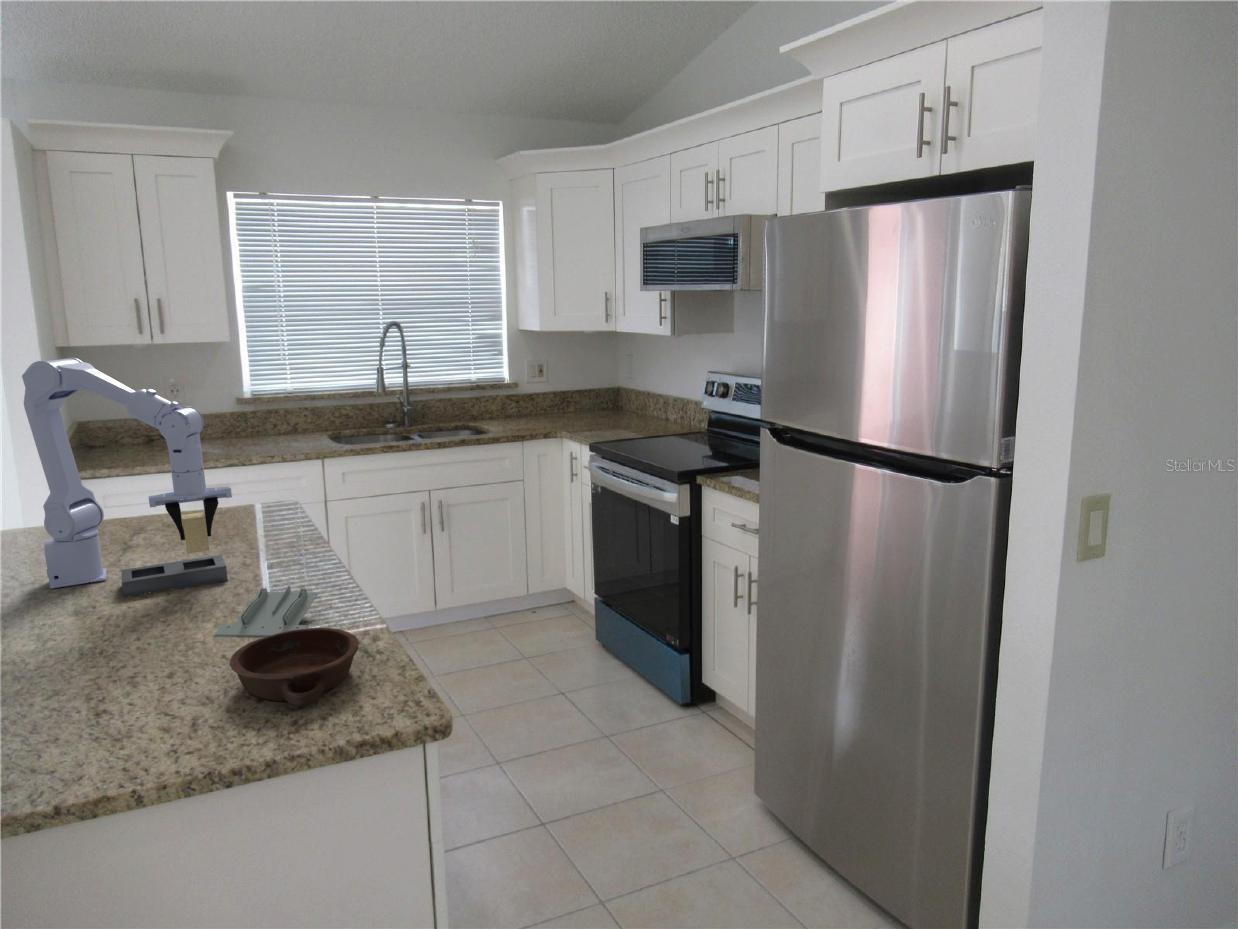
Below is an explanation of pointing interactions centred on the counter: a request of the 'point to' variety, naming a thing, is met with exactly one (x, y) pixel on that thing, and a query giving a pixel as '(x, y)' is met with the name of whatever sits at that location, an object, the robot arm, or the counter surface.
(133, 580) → the grey slotted block
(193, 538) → the brass peg
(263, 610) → the metal bracket
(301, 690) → the dish
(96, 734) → the counter surface
